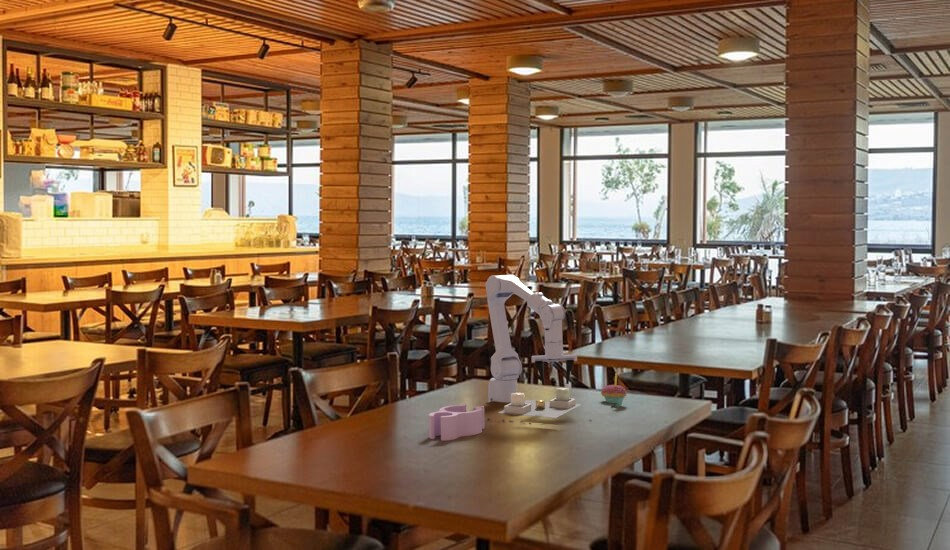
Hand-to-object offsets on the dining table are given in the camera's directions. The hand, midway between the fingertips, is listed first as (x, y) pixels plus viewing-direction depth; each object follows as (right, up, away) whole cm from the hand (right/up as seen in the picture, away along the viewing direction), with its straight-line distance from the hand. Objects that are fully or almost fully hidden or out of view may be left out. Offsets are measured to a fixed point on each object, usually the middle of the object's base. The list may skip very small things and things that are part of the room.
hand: (555, 384), depth 318 cm
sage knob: (+3, -6, +7) cm, 10 cm away
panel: (-5, -10, +3) cm, 11 cm away
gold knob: (-5, -8, +3) cm, 10 cm away
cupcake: (+21, -9, +14) cm, 27 cm away
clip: (-31, -12, -25) cm, 42 cm away
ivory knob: (-12, -7, -1) cm, 14 cm away
